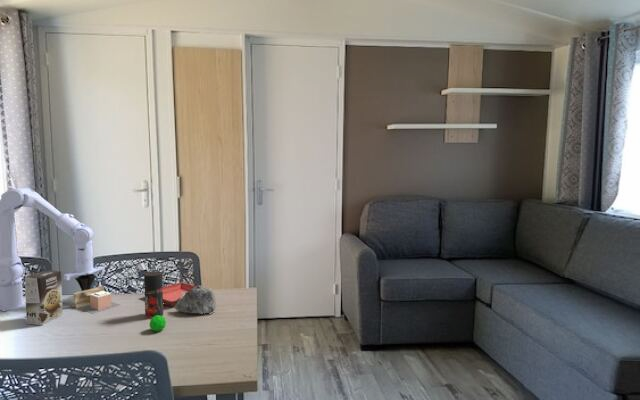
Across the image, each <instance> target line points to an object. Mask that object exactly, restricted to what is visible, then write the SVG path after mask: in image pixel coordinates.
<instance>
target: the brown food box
mask: <svg viewBox="0 0 640 400" xmlns="http://www.w3.org/2000/svg"><path fill="white" fill-rule="evenodd" d="M24 289H25V290H24V291H25V292H24V293H25V303H26V306H25V310H26V311H25V313H26V316H25V317H26V319H25V320H26V324H27V325H35V326H44V325H45V324H47V323H49V322H51V321H54V320H56V319H58V318H60V317H62V316H63V315H64V310H63V303H62V298H63V286H62V271H61V270H43V271H39V272H36V273H34V274H30V275H28V276H27V275H26V276H24Z"/></svg>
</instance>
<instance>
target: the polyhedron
mask: <svg viewBox="0 0 640 400" xmlns="http://www.w3.org/2000/svg"><path fill="white" fill-rule="evenodd" d="M166 324H167V320H166V318H165V317H164V316H163V315H162V316H160V315H156V316H154V317H153V318H150V320H149V328H150V329H151V330H152V331H155V332H161V331H163V329H165V327H166Z"/></svg>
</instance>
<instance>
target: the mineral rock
mask: <svg viewBox="0 0 640 400" xmlns="http://www.w3.org/2000/svg"><path fill="white" fill-rule="evenodd" d="M215 296H216V295H215V292H214V291H213V289H212V288H210V287H204V285H196V287H194V288H193V289H192V290H189V291H188V292H186V293H185V295H184V296H183V297H180V298H178V299H177V304H176V305H175V306H174V307H173V308H174V309H175V310H176V311H178V312H181V313H188V314H201V315H206V314H205V313H211V312H213V311H214V310H215V309H216V310H217V304H216V297H215ZM216 310H215V311H216ZM203 313H204V314H203ZM213 313H214V312H213Z"/></svg>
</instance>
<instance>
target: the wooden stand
mask: <svg viewBox="0 0 640 400" xmlns="http://www.w3.org/2000/svg"><path fill="white" fill-rule="evenodd" d="M100 291H105V287H104V285H100V286H97V287H93V288H92V287H91V288H90V289H88V290H84V291H82V290H81V291H77V292H73V293H72V294H73V295H74V303H72V306H73V307H72V308H74V307H76V308H75V309H77V308H79V307H83V306H86V305H90V294H93V293H96V292H100ZM73 295H72V296H73Z"/></svg>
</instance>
